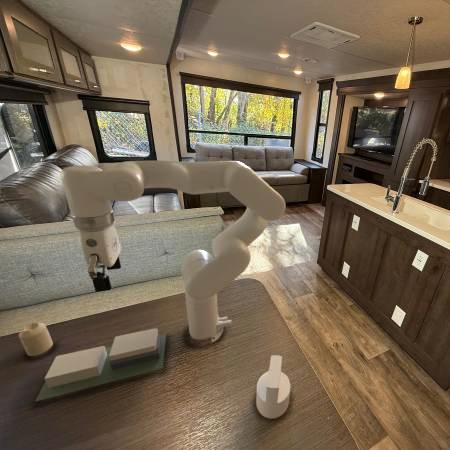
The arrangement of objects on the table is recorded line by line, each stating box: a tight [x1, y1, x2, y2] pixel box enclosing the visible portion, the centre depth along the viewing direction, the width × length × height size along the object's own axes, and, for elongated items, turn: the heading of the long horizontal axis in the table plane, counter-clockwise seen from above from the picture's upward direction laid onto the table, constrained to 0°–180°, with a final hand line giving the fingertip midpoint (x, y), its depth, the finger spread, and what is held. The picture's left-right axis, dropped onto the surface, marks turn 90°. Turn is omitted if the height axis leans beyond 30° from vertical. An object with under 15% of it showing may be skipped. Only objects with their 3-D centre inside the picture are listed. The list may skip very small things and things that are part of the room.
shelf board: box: [35, 334, 167, 403], centre depth 72 cm, size 28×13×2 cm, turn 113°
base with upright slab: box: [255, 354, 291, 420], centre depth 65 cm, size 9×9×12 cm
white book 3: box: [109, 327, 159, 361], centre depth 73 cm, size 11×7×2 cm, turn 113°
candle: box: [18, 322, 54, 357], centre depth 73 cm, size 6×6×10 cm
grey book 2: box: [111, 340, 162, 370], centre depth 74 cm, size 12×6×2 cm, turn 113°
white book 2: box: [47, 351, 107, 388], centre depth 69 cm, size 11×7×2 cm, turn 113°
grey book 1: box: [109, 333, 161, 365], centre depth 73 cm, size 12×6×2 cm, turn 113°
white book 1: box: [44, 345, 106, 383], centre depth 68 cm, size 11×7×2 cm, turn 113°
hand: (109, 278), depth 65 cm, fingers open, 9 cm apart
